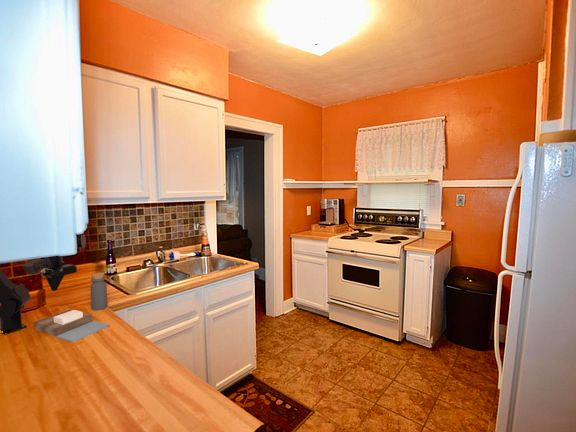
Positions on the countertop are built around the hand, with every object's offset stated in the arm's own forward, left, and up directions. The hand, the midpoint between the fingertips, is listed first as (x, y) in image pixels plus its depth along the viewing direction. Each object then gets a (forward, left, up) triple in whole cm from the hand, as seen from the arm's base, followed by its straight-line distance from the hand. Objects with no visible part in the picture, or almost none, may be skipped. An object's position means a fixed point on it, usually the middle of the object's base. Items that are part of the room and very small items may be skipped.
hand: (54, 290), depth 110 cm
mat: (+16, 0, -13) cm, 20 cm away
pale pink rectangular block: (+7, 0, -10) cm, 12 cm away
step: (+5, 0, -13) cm, 14 cm away
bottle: (0, +17, -13) cm, 22 cm away
